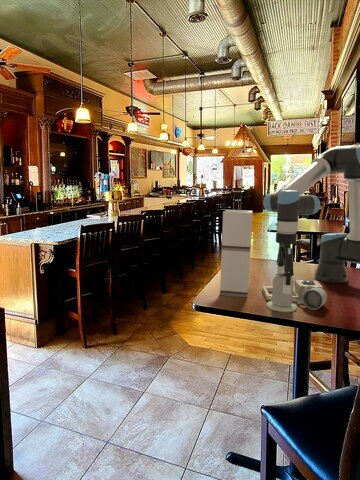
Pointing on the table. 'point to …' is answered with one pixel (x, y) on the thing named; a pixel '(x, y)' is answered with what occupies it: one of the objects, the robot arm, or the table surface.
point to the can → (281, 292)
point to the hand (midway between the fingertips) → (283, 287)
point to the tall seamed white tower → (236, 252)
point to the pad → (280, 309)
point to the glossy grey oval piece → (308, 282)
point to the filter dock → (297, 290)
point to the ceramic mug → (313, 298)
